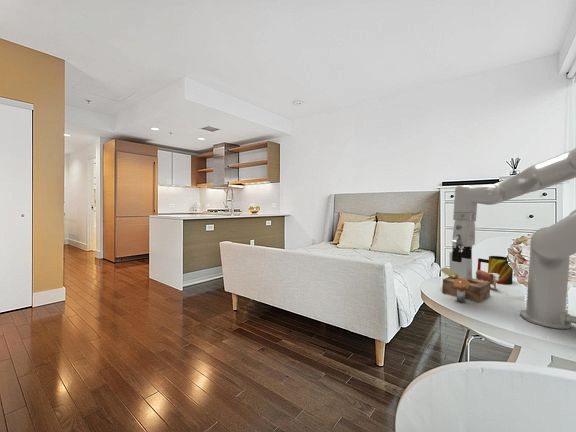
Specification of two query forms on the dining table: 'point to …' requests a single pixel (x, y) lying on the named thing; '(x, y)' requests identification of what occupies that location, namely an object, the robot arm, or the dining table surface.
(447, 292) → the block
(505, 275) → the mug
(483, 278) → the bull figurine
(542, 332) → the dining table surface
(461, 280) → the orange-brown domed cylinder
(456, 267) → the skincare box
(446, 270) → the plate
